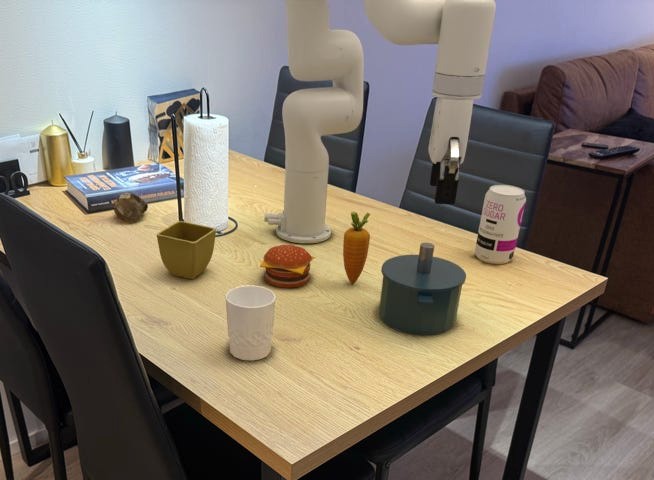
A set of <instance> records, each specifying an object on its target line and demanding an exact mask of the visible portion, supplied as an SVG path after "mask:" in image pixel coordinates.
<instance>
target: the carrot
mask: <svg viewBox="0 0 654 480" xmlns="http://www.w3.org/2000/svg"><path fill="white" fill-rule="evenodd" d="M370 215H371V213H370V212H366V213H365V215H364V216H363V218H362V220H360V216H359V214H358V212H355V211H351V212H350V218H351V221H352V222H351V223H350V225H351V226H352V227H349V228H348V229H347V230H346V231H344V234H343V243H342V244H343V245H342V249H343V250H342V259H343V266H344V271H345V275H346V277H347V279H348V282H349V283H350V284H351V285H354V284H355V283H356V282H357V281H358V279H359V278H360V276H361V274H362V273H363V271H364V267H365V265H366V262H367V258H368V253H369V248H370V241H371V234H370V232H369V231H368V230H367V229H366V228H364V226H365V224H367V223H369V219H368V218H369V217H370Z"/></svg>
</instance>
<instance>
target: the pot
mask: <svg viewBox="0 0 654 480" xmlns="http://www.w3.org/2000/svg"><path fill="white" fill-rule="evenodd" d="M462 288H463V285H462V286H460V287H459V288H456V289H453V290H450V291H444V292H423V291H415V290H411V289H407V288H403V287H400V286H398V285H395V284H393V283H391V282H390V281H388V280H387V279H386V278H385V277H384V276H383V275H382V282H381V291H380V299H379V308H378V309H379V310H378V315H379V319H380V320H381V321H382V322H383V323H384V324H385V325H386V326H388V327H390V328H391V329H394V330H397V331H399V332H401V333H405V334H408V335H409V334H410V335H416V336H432V335H439V334H444V333H446V332H448V331H450V330H451V329H452V328H453V327H454V325H455V322H456V320H457V315H458V309H459V304H460V300H461V299H460V298H461V294H462Z"/></svg>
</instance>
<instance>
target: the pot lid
mask: <svg viewBox="0 0 654 480" xmlns="http://www.w3.org/2000/svg"><path fill="white" fill-rule="evenodd" d="M435 248H436V247H435V244H433V243H431V242H421V243H420V245H419V252H418V254H402V255H397V256H393V257H390V258H388V259H386V260H385V261H384V262H383V263H382V264H381V270H380V271H381V274H382V277H383V276H384V277H385V278H386V279H387V280H388V281H390V282H391V283H393V284H395V285H398V286H400V287H403V288H407V289H411V290H415V291H423V292H444V291H450V290H453V289H456V288H459V287H460V286H462V287H463V285H464V284H465V282H466V280H467V273H466V272H465V270H464V269H463V267H461V266H460V265H458V264H456V262H455V263H454V262H453V261H451V260H448V259H446V258H445V259H444V258H442V257H438V256H434V252H435Z"/></svg>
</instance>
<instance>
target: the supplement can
mask: <svg viewBox="0 0 654 480" xmlns="http://www.w3.org/2000/svg"><path fill="white" fill-rule="evenodd" d="M525 193H526V191H525V190H524V189H522V188H520V187H518V186H514V185H509V184H494V185H492V186H490V187H489V189H488V190H487V192H486V193H485V194H484V195H485V196H484V200H483V205H482V211H481V216H480V221H479V226H478V232H477V236H476V242H475V247H474V252H473V253H474V255H475V256H476V258H477V259H478V260H480V261H482V262H483V263H484V262H485V263H487V264H492V265H505V264H507V263H509V262H511V260H513V259H514V256H515V252H516V248H517V242H518V239H519V233H520V229H521V225H522V220H523V216H524V211H525V207H526V203H527V197H526V194H525Z"/></svg>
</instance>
